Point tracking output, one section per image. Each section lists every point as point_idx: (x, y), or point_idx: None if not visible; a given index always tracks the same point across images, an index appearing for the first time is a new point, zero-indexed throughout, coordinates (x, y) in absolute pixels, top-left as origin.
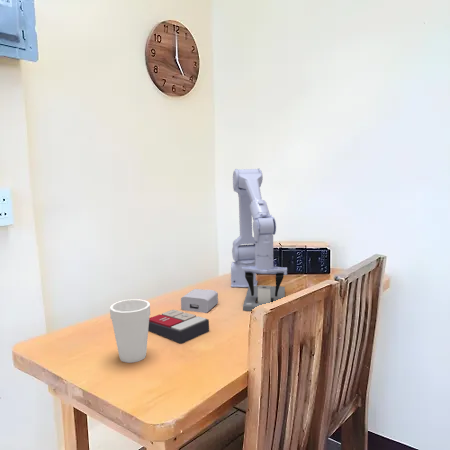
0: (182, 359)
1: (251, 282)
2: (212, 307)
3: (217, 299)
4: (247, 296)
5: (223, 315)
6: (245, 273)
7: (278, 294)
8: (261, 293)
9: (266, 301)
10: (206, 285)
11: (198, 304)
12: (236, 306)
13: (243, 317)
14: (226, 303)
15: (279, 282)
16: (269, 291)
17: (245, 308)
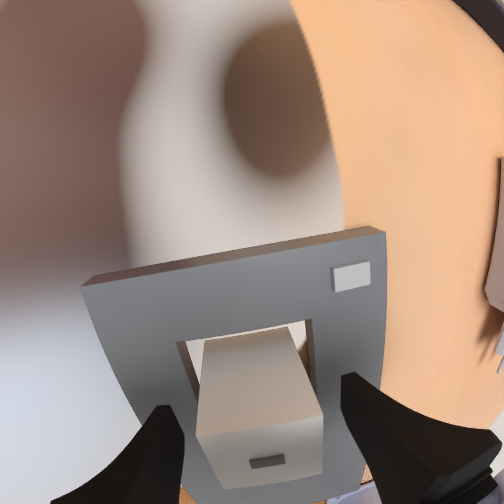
0: None
1: (411, 438)
2: (498, 219)
3: (498, 292)
4: None
5: (443, 128)
6: (492, 481)
7: (200, 466)
8: (278, 394)
9: (230, 359)
10: None
11: None
12: (411, 288)
13: (337, 105)
14: (452, 312)
15: (95, 486)
16: (204, 418)
17: (361, 232)
